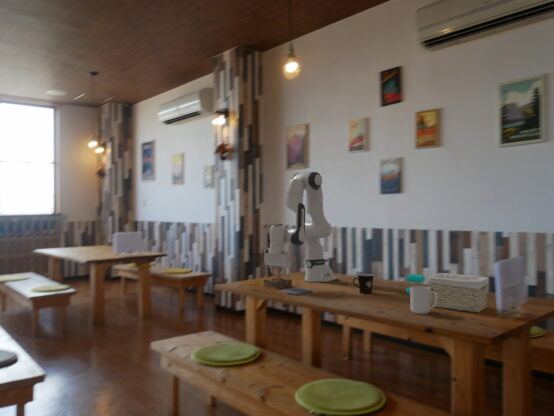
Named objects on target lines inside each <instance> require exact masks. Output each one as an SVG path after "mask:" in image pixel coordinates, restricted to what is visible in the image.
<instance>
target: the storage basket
mask: <svg viewBox="0 0 554 416" xmlns="http://www.w3.org/2000/svg"><path fill="white" fill-rule="evenodd" d="M489 280H490V279H489V277H485V276H479V275H468V274H458V273H450V272H449V273H447V272H445V273H444V272H438V273H436V274H432V275H430V276H429V277H428V280H427V281H428V285H429V286H428V287H429V288H430V291H431V292H435V293H437V305H436V306H434V304H435V294H434V293H431V307H432V306H434V307H435V308H442V309H443V308H444V309H450V310H451V309H452V310H456V311H459V312H460V311H462V312H464V311H466V312H470V313H480V312H481V311H483V310H484V309H486V307H487V301H488V300H487V298H488V284H489V282H490V281H489ZM434 307H433V308H434Z"/></svg>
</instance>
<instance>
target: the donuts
mask: <svg viewBox="0 0 554 416" xmlns="http://www.w3.org/2000/svg"><path fill="white" fill-rule="evenodd" d="M405 279H406V281H408V282H409V283H412V284H413V283H415V284H418V283H419V284H420V283H423V282H424V281H425V280H426V277H425V276H424V275H422V274H413V273H412V274H408V275H406V276H405ZM410 287H412V286H409V287H406V289H405V290H406V293H407V294H409V295H410Z"/></svg>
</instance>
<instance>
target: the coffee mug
mask: <svg viewBox="0 0 554 416" xmlns="http://www.w3.org/2000/svg"><path fill="white" fill-rule="evenodd" d="M355 280H357V281H358V285H357V284H355ZM373 282H374V274H371V273H358V274H357V277H354V278H353V280H352V284H353V285H354V286H355V287H357V288H358V289H359V294H363V295H369V294H370V295H371V294H372V293H373Z"/></svg>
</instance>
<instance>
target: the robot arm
mask: <svg viewBox="0 0 554 416" xmlns="http://www.w3.org/2000/svg"><path fill="white" fill-rule="evenodd" d="M322 182H323V179H322V176H321V174H320V173H319V172H316V171H304V172H300V173H299V172H298V173H295V174H293V175H292V176H291V178H290V180H289V183H288V185H287V187H286V192H285V195H284V204H285V206H286V207H287V209H289V210H291V211H293V212H294V214H295V228H288V227H286V226H284V224H283V223H274V224H271V226H270V228H269V240H270V241H269V247H268V248H265V249H264V250H263V251H264V265H265V266H269V269H270V272H271V274H274V266H278V267H281V271H280V274H281V276H283V275H285V271H286V269H287V268H291V265H292V263H291V256H290V253H289V252H288V251H285V245H290V246H291V245H293V246H295V247H296V246H297V247H300V246H302V245H303V244H305V248H306V249H305V250H306V259H305V264H306V267H305V276H304V281H306V282H313V283H319V282H320V283H321V282H322V283H327V282H331V281H334V280H337V276H334V271H333V270H332V268H331V267H330V266H328V265H327V264H326V263H328V262H329V259H328V258H325V259H324V257H325V255H324V246H323V244H321V243H320V241H319V240H318V239H325V238H329V237H330V236H331V234H332V232H333V228H332V225H331V224H330V222H328V220H327V218H326V216H325V212H324V194H323V189H322ZM305 191H306V196H305V199H306V201H305V204H304V202H303V199H304V193H305ZM306 214H307V215H309V217H310V218H311V220H306Z"/></svg>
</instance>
